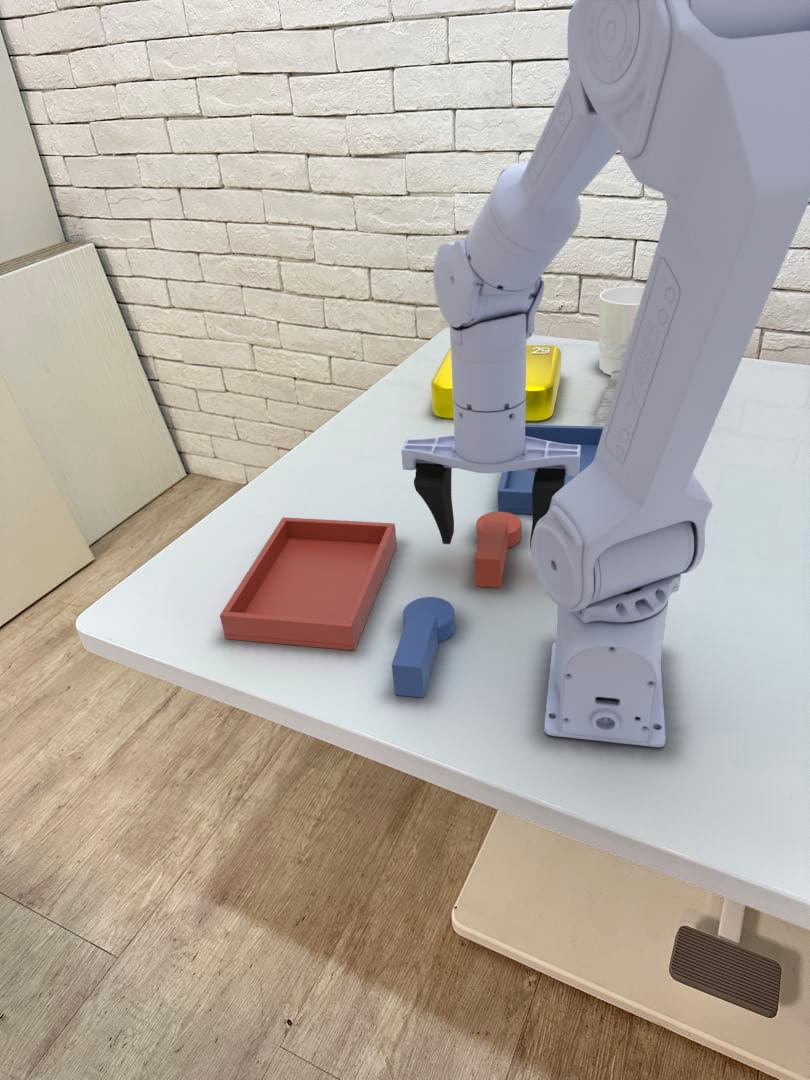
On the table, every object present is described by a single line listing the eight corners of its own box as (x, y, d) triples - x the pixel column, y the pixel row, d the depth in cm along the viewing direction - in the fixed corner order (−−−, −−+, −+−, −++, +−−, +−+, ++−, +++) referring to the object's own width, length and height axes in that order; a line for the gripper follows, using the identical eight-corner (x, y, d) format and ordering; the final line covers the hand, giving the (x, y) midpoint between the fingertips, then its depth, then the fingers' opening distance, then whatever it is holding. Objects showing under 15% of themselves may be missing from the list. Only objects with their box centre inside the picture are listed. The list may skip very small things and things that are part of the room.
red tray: (354, 650, 64) (351, 626, 62) (225, 639, 66) (219, 615, 65) (397, 545, 76) (395, 523, 75) (286, 538, 78) (282, 517, 77)
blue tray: (613, 518, 77) (615, 496, 76) (497, 512, 79) (497, 491, 78) (613, 447, 89) (615, 426, 88) (513, 443, 92) (513, 424, 90)
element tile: (429, 418, 99) (427, 382, 96) (452, 373, 111) (450, 339, 108) (551, 423, 95) (552, 385, 93) (561, 375, 108) (562, 340, 105)
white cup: (663, 362, 109) (670, 288, 103) (644, 383, 103) (651, 306, 98) (607, 355, 112) (611, 283, 107) (586, 374, 107) (590, 300, 102)
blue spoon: (437, 699, 58) (434, 669, 57) (381, 693, 59) (378, 663, 58) (459, 613, 67) (457, 584, 65) (410, 609, 68) (407, 581, 66)
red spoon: (511, 589, 69) (511, 560, 67) (463, 585, 70) (462, 557, 68) (522, 526, 77) (523, 499, 75) (479, 524, 78) (479, 497, 76)
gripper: (584, 379, 64) (577, 520, 72) (410, 376, 68) (419, 512, 75) (581, 416, 59) (573, 566, 66) (391, 411, 62) (403, 554, 69)
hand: (491, 540), depth 70 cm, fingers open, 7 cm apart
